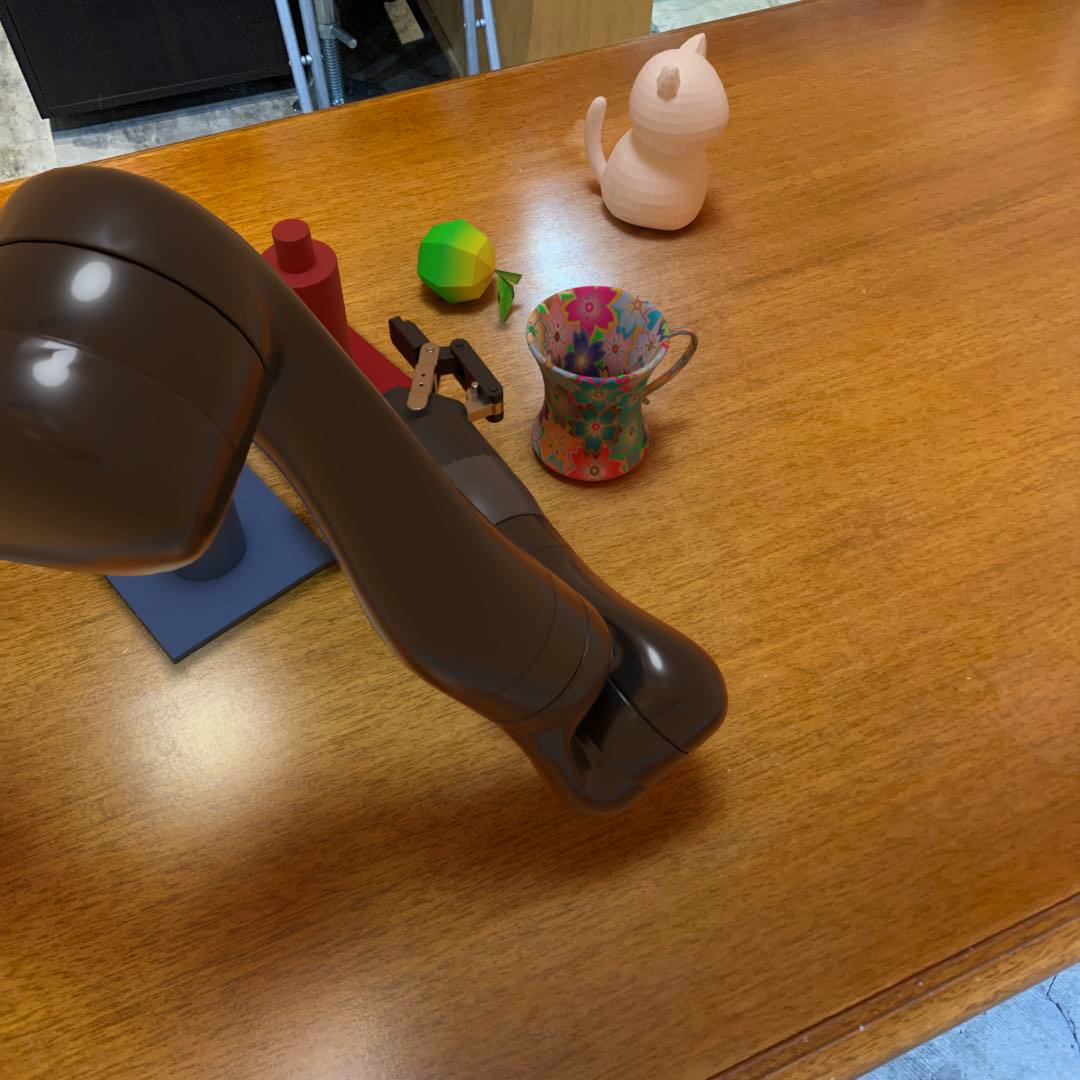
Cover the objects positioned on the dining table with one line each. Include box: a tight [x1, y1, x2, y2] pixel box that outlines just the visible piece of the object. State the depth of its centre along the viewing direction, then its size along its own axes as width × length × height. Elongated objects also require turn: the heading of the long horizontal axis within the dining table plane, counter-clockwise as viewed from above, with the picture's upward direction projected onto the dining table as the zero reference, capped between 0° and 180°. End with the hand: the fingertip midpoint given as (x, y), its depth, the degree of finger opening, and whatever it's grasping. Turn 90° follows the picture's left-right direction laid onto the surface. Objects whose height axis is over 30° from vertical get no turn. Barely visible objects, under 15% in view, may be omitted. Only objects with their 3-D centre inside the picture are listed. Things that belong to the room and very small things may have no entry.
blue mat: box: [103, 463, 336, 664], centre depth 71 cm, size 12×12×1 cm
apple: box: [416, 218, 523, 324], centre depth 86 cm, size 7×6×9 cm
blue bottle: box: [173, 498, 247, 581], centre depth 65 cm, size 5×5×14 cm
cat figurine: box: [583, 32, 730, 231], centre depth 90 cm, size 9×12×15 cm
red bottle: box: [260, 218, 354, 362], centre depth 74 cm, size 5×5×14 cm
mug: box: [525, 285, 699, 482], centre depth 74 cm, size 12×9×11 cm
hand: (336, 350), depth 72 cm, fingers open, 8 cm apart
